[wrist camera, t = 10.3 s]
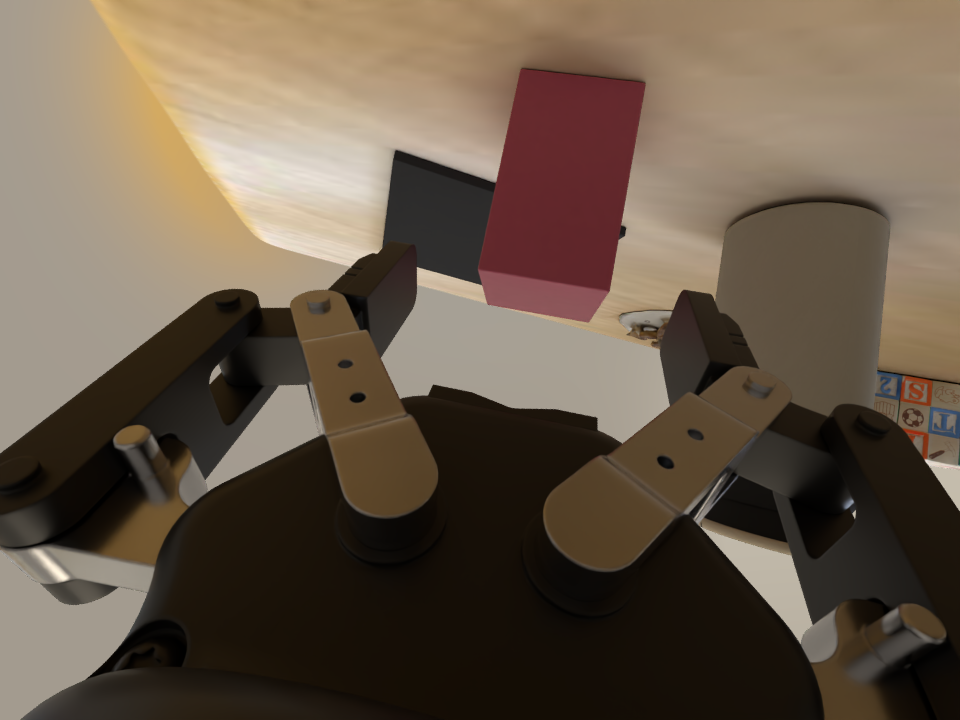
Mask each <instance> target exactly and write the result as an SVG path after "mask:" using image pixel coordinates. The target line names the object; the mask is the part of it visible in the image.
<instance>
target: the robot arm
mask: <svg viewBox="0 0 960 720" xmlns="http://www.w3.org/2000/svg"><path fill="white" fill-rule="evenodd" d="M416 294H417V252H416V247H415V245H414V244H409V243H402V242H396V241H389V242H388V243H387V244H386V246H385V247H384V248H383V249H382V250H381V251H380V252H379V253H378V254H375V253H372V254H369V255H367V256H365V257H362V258H360V259H359V260H358V261H357V262H356V263H355V264H354V265H353V266H351V268H350V269H348V270H347V271H346V272H345V275H342V276H341V277H340V278H339V279H338V280H337V281H336V282H335V283H334V284H333V285H332V286H331V287H330V288H329V289H328V290H314V291H308V292H305V293H302V294H300V295H298V296H297V297H295V298H294V299H293V300H292V301H291V303H290V308H261V307H260V304H259V300H258V296H257V295H256V294H255V293H253V292H251V291H248V290H244V289H228V290H222V291H218V292H214V293H212V294H209V295H207V296H206V297H204V298H202V299H201V300H200V301H198V302H197V303H196V304H195V305H193V306H192V307H191V308H190V309H188V310H187V311H185V312H184V313H183V314H182V315H180V316H179V317H178V318H177V319H175V320H174V321H172V322H171V323H170V324H169V325H167V326H166V327H165V328H163V329H162V330H161V331H160V332H158V333H157V334H155V335H154V336H153V337H152V338H150V339H149V340H148V341H146V342H145V343H144V344H142V345H141V346H140V347H139V348H137V349H136V350H135V351H133V352H132V353H131V354H130V355H128V356H127V357H126V358H124V359H123V360H122V361H120V362H119V363H118V364H116V365H115V366H114V367H113V368H111V369H110V370H109V371H107V372H106V373H105V374H103V375H102V376H101V377H99V378H98V379H97V380H96V381H94V382H93V383H92V384H90V385H89V386H88V387H87V388H85V389H84V390H83V391H81V392H80V393H79V394H78V395H76V396H75V397H74V398H72V399H71V400H70V401H68V402H67V403H66V404H64V405H63V406H62V407H60V408H59V409H58V410H57V411H55V412H54V413H53V414H51V415H50V416H49V417H48V418H46V419H45V420H43V421H42V422H41V423H40V424H38V425H37V426H36V427H34V428H33V429H32V430H31V431H29V432H28V433H27V434H25V435H24V436H23V437H21V438H20V439H19V440H17V441H16V442H15V443H13V444H12V445H11V446H10V447H8V448H7V449H6V450H4V451H3V452H2V453H0V551H1V552H2V553H3V554H4V555H5V556H6V557H7V558H8V559H9V560H11V561H12V562H13V563H14V564H15V565H16V566H17V567H18V568H19V569H20V570H21V571H23V572H24V573H25V574H26V575H27V576H28V577H29V578H31V580H33V581H35V582H38V583H40V584H41V585H42V586H43V587H45V588H46V589H47V590H48V591H49V592H50V593H51V594H52V595H53V596H54V597H55V598H56V599H58V600H59V601H60V602H62V603H65V604H69V605H79V604H85V603H89V602H92V601H95V600H98V599H100V598H102V597H104V596H106V595H108V594H109V593H111V592H112V591H114V590H115V589H117V588H118V587H121V588H127V589H131V590H136V591H141V592H146V593H147V596H146V599H145V601H144V603H143V606H142V608H141V610H140V613H139V615H138V617H137V619H136V621H135V623H134V624H133V626H132V628H131V630H130V632H129V634H128V635H127V637H126V638H125V640H124V641H123V642H122V644H121V645H120V646H119V647H118V649H117V650H116V651H115V652H114V653H113V654H112V655H111V657H110V658H109V659H108V660H107V661H106V662H105V663H104V664H103V665H102V666H101V667H100V668H98V669H97V670H96V671H95V672H94V673H93V674H92V675H90V676H89V677H88V678H87V679H86V680H84V681H82V682H80V683H77V684H75V685H73V686H71V687H69V688H67V689H65V690H62V691H61V692H59V693H57V694H56V695H54V696H52V697H50V698H49V699H47V700H45V701H44V702H42V703H41V704H40V705H38V706H37V707H36V708H34V709H33V710H32V711H30V712H29V713H28V714H27V715H25V716H24V717H23V718H22V719H21V720H960V511H959V510H958V508H957V507H956V505H955V504H954V502H953V501H952V499H951V498H950V496H949V495H948V494H947V492H946V491H945V489H944V488H943V486H942V485H941V483H940V482H939V480H938V479H937V478H936V476H935V474H934V473H933V471H932V470H931V469H930V467H929V466H928V464H927V463H926V461H925V460H924V458H923V457H922V455H921V454H920V452H919V451H918V449H917V448H916V446H915V445H914V444H913V442H912V441H911V439H910V438H909V436H908V435H907V433H906V432H905V431H904V430H903V429H902V428H901V427H900V426H899V425H898V424H897V423H896V422H894V421H893V420H891V419H890V418H888V417H887V416H885V415H883V414H881V413H879V412H877V411H875V410H873V409H870V408H867V407H865V406H861V405H856V404H848V403H847V404H840V405H838V406H836V407H835V408H834V410H833V411H832V412H831V413H830V415H829V416H826V415H823V414H820V413H818V412H815V411H812V410H810V409H807V408H804V407H801V406H799V405H797V404H794V403H792V402H790V401H791V400H792V392H791V390H790V389H789V387H788V386H787V385H786V384H785V383H784V382H783V381H781V380H780V379H779V378H777V377H776V376H774V375H772V374H770V373H768V372H766V371H763V370H761V369H759V367H758V365H757V362H756V360H755V358H754V356H753V354H752V352H751V350H750V348H749V347H748V343H747V341H746V339H745V338H743V336H744V335H743V333H742V331H741V329H740V327H739V325H738V324H737V323H736V322H735V321H734V320H733V319H732V318H731V317H729V316H728V315H727V314H725V313H720V312H719V310H718V308H717V305H716V303H715V301H714V298H713V296H712V295H711V294H707V293H701V292H695V291H689V290H683V291H682V292H681V293H680V295H679V297H678V299H677V302H676V304H675V307H674V309H673V312H672V314H671V317H670V319H669V322H668V324H667V327H666V329H665V332H664V334H663V337H662V341H661V346H660V357H661V362H662V367H663V373H664V377H665V383H666V388H667V393H668V399H669V403H670V407H668V408H667V409H666V410H665V411H663V412H662V413H661V414H659V415H658V416H657V417H656V418H654V419H653V420H652V421H651V422H649V423H648V424H647V425H646V426H644V427H643V428H642V429H641V430H639V431H638V432H637V433H635V434H634V435H633V436H632V437H630V438H629V439H628V440H627V441H625V442H624V443H623V444H622V443H621V442H619V441H617V440H616V439H614V438H613V437H611V436H609V435H607V434H605V433H603V432H600V431H598V430H597V418H596V417H591V416H585V415H581V414H576V413H571V412H566V411H561V410H556V409H515V408H510V407H507V406H504V405H502V404H499V403H497V402H495V401H492V400H489V399H487V398H485V397H482V396H480V395H477V394H475V393H472V392H467V391H462V390H458V389H453V388H448V387H442V386H438V385H433V386H432V388H431V390H430V392H429V395H428V396H412V397H406V398H402V399H400V398H399V396H398V394H397V392H396V390H395V388H394V385H393V383H392V381H391V379H390V377H389V375H388V373H387V371H386V369H385V366H384V364H383V362H382V360H381V357H382V355H383V354H384V352H385V351H386V349H387V348H388V346H389V344H390V343H391V341H392V340H393V338H394V337H395V335H396V334H397V332H398V331H399V329H400V327H401V326H402V324H403V323H404V321H405V320H406V318H407V317H408V315H409V314H410V312H411V311H412V309H413V307H414V304H415V301H416ZM218 364H219V366H220V369H221V371H222V372H221V373H220V374H219V375H218V376H217V378H216V379H215V380H214V381H213V382H212V383H211V384H210V385H209V380H210V376H211V373H212V371H213V369H214V368H215V367H216V366H217V365H218ZM304 384H306V385H307V390H308V393H309V397H310V402H311V405H312V409H313V413H314V417H315V421H316V425H317V429H318V433H319V436H318V437H316V438H314V439H312V440H310V441H308V442H306V443H304V444H302V445H300V446H298V447H296V448H294V449H292V450H290V451H287V452H285V453H283V454H281V455H279V456H277V457H275V458H273V459H271V460H269V461H267V462H265V463H263V464H261V465H259V466H257V467H255V468H253V469H251V470H249V471H247V472H245V473H243V474H240V475H238V476H236V477H234V478H232V479H230V480H228V481H226V482H224V483H222V484H220V485H219V486H217V487H215V488H213V489H211V490H210V491H208V492H207V484H206V481H205V480H206V478H207V477H208V476H209V475H210V473H211V472H212V471H213V469H214V468H215V467H216V466H217V464H218V463H219V462H220V460H221V459H222V458H223V456H224V455H225V454H226V453H227V451H228V450H229V449H230V448H231V446H232V445H233V444H234V442H235V441H236V440H237V439H238V437H239V436H240V435H241V434H242V432H243V431H244V429H245V428H246V427H247V426H248V425H249V423H250V422H251V421H252V419H253V418H254V417H255V415H256V414H257V413H258V412H259V410H260V409H261V408H262V407H263V405H264V404H265V403H266V401H267V400H268V399H269V398H270V396H271V395H272V394H273V393H274V391H275V390H276V389H277V387H278V385H304ZM739 476H741V477H744V478H746V479H748V480H750V481H753V482H755V483H757V484H759V485H761V486H764V487H766V488H768V489H770V490H773V496H774V499H775V502H776V506H777V509H778V512H779V515H780V519H781V522H782V525H783V529H784V532H785V535H786V539H787V542H788V545H789V548H790V552H791V555H792V558H793V561H794V565H795V568H796V571H797V575H798V578H799V581H800V584H801V588H802V591H803V595H804V598H805V601H806V604H807V608H808V611H809V614H810V618H811V621H812V624H813V626H812V627H810V628H809V629H808V630H806V632H805V633H804V634H803V637H802V640H801V644H800V643H799V641H798V640H797V638H796V637H795V635H794V634H793V633H792V631H791V630H790V629H789V627H788V626H787V625H786V623H785V622H784V621H783V620H782V619H781V617H780V616H779V615H778V614H777V613H776V612H775V611H774V610H773V608H772V607H771V606H770V605H769V604H768V603H767V602H766V600H765V599H764V598H763V597H762V596H761V595H760V594H759V593H758V592H757V590H756V589H755V588H754V587H753V586H752V585H751V584H750V583H749V581H748V580H747V579H746V578H745V577H744V576H743V575H742V573H741V572H740V571H739V570H738V569H737V568H736V567H735V566H734V564H733V563H732V562H731V561H730V560H729V559H728V558H727V557H726V555H725V554H724V553H723V552H722V551H721V550H720V549H719V548H718V546H717V545H716V544H715V543H714V542H713V541H712V540H711V539H710V538H709V536H708V535H707V534H706V533H705V532H704V531H703V530H702V528H701V527H700V526H699V525H698V524H699V523H700V521H701V520H702V519H703V518H704V516H705V515H706V514H707V513H708V512H709V511H710V510H711V508H712V507H713V506H714V505H715V504H716V503H717V501H718V500H719V499H720V498H721V497H722V496H723V495H724V493H725V492H726V491H727V490H728V489H729V488H730V486H731V485H732V484H733V483H734V482H735V481H736V480H737V478H738V477H739ZM853 503H854V504H855V508H856V518H855V519H854V517H853V514H852V512H851V510H850V508H849V507H850V506H851V505H852V504H853Z"/></svg>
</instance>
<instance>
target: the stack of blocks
mask: <svg viewBox="0 0 960 720" xmlns="http://www.w3.org/2000/svg"><path fill="white" fill-rule="evenodd" d="M874 410H875V411H877V412H879V413H881V414H883V415H885V416H887V417H888V418H890V419H891V420H893V421H894V422H896V423H897V424H898V425H899V426H900V427H901V428H902V429H903V430H904V431H905V432H906V433H907V435H908V436H909V438H910V439H911V441H912V442H913V444H914V445H915V446H916V448H917V449H918V451H919V452H920V454H921V455H922V457H923V458H924V460H925V461H926V463H927V464H928V465H930V466H935V467H940V468H947V469H958V470H960V385H957V384H951V383H945V382H939V381H931V380H927V379H921V378H916V377H910V376H901V375H897V374H891V373H885V372H879V371H877V379H876V390H875V401H874Z"/></svg>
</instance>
